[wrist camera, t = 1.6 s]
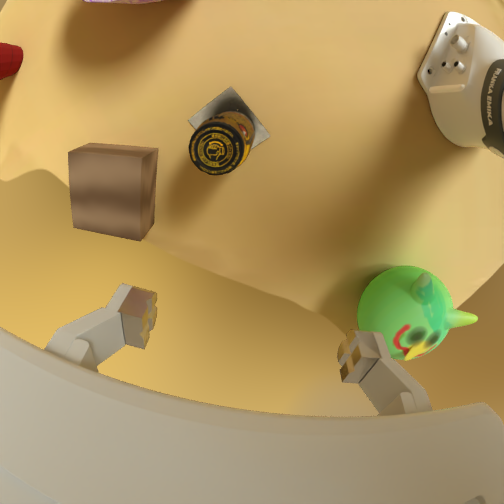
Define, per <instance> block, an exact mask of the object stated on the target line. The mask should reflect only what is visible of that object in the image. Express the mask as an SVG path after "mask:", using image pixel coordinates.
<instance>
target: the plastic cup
mask: <svg viewBox="0 0 504 504" xmlns="http://www.w3.org/2000/svg"><path fill="white" fill-rule="evenodd" d="M22 60H23V50H22V49H21V47H19V46H15V45H10V44H7V43H0V80H1V79H3V78H5V77H8V76H11V75H13V74H15V73H16V72H17V71H18V69H19V68H20V66H21V63H22Z"/></svg>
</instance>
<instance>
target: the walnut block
mask: <svg viewBox="0 0 504 504" xmlns="http://www.w3.org/2000/svg"><path fill="white" fill-rule="evenodd" d="M157 158H158V148H148V147H138V146H127V145H115V144H100V143H88V144H86V145H83V146H81V147H79V148H76V149H74V150H72V151H69V152H68V165H69V185H70V198H71V209H72V218H73V226H74V228H77V229H82V230H87V231H92V232H97V233H101V234H106V235H111V236H116V237H121V238H126V239H131V240H136V241H141V240H142V239H143V237H144V236H145V235H146V233H147V232H148V231H149V229H150V228H151V227H152V226H153V224H154V212H155V188H156V172H157Z"/></svg>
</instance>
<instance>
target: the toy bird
mask: <svg viewBox="0 0 504 504" xmlns="http://www.w3.org/2000/svg"><path fill="white" fill-rule="evenodd" d="M477 320H478V317H477V316H476V315H474V314H471V313H467V312H463V311H460V310H456V309H453V303H452V299H451V296H450V294H449V292H448V290H447V288H446V287H445V285H444V284H443V283H442V282H441V281H440V280H439V279H438V278H437V277H436V276H434V275H433V274H432V273H430V272H428V271H426V270H424V269H421V268H418V267H413V266H398V267H394V268H391V269H388V270H386V271H384V272H382V273H381V274H379V275H378V276H377V277H375V278H374V279H373V280H372V281H371V282H370V283H369V285H368V286H367V287H366V289H365V290H364V292H363V294H362V296H361V298H360V301H359V304H358V309H357V322H358V327H359V330H363V331H370V332H371V331H373V332H381V333H382V334H383V336H384V339H385V342H386V345H387V347H388V350H389V353H390V356H391V358H393V359H399V360H404V361H408V360H410V359H413V358H418V357H420V356H423V355H425V354H427V353H429V352H430V351H432V350H433V349H434V348H435V347H437V346H438V345H439V344H440V343H441V341H442V340H443V339H444V338H445V336H446V334H447V333H448V331H449V329H450V328H454V327H460V326H464V325H469V324H472V323H474V322H476V321H477Z"/></svg>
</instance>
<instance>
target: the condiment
mask: <svg viewBox="0 0 504 504" xmlns="http://www.w3.org/2000/svg"><path fill="white" fill-rule="evenodd" d="M237 109H238V110H237ZM188 121H189V122H190V123H191V125H192V126H193V127H194V128H195V129H196V131H195V132H194V134H193V135H192V137H191V140H190V144H189V153H190V157H191V160H192V161H193V163H194V164H195V165H196V167H198V169H200V170H201V171H203V172H206V173H208V174H209V175H223V174H226V173H229V172H231V171H232V170H234V169H235V168H236V167H238V166H240V165H241V164H242V163H243V162H244V160H245V159H246V158H247V156H248V154H249V152H250V150H251V149H253V148H254V147H255V146H257V145H258V144H260V143H261V142H263V141H264V140H266V139H267V138H269V137H270V134H269V133H268V132H267V131H266V129H265V128H264V127H263V125H262V124H261V123H260V121H259V120H258V119H257V118H256V116H255V115H254V114H253V113H252V111H251V110H250V109H249V108H248V106H247V105H246V104H245V103H244V101H243V100H242V99H241V98H240V97H239V95H238V94H237V93H236V92H235V91H234V89H233V88H232V87H229V88H228V89H227V90H225V91H224V92H223V93H221V94H220V95H219V96H218V97H216V98H215V99H214V100H212V101H211V102H210V103H209V104H207V105H206V106H205V107H204V108H202V109H201V110H200V111H199V112H197V113H196V114H195V115H194V116H192V117H191V118H190V119H189V120H188Z"/></svg>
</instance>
